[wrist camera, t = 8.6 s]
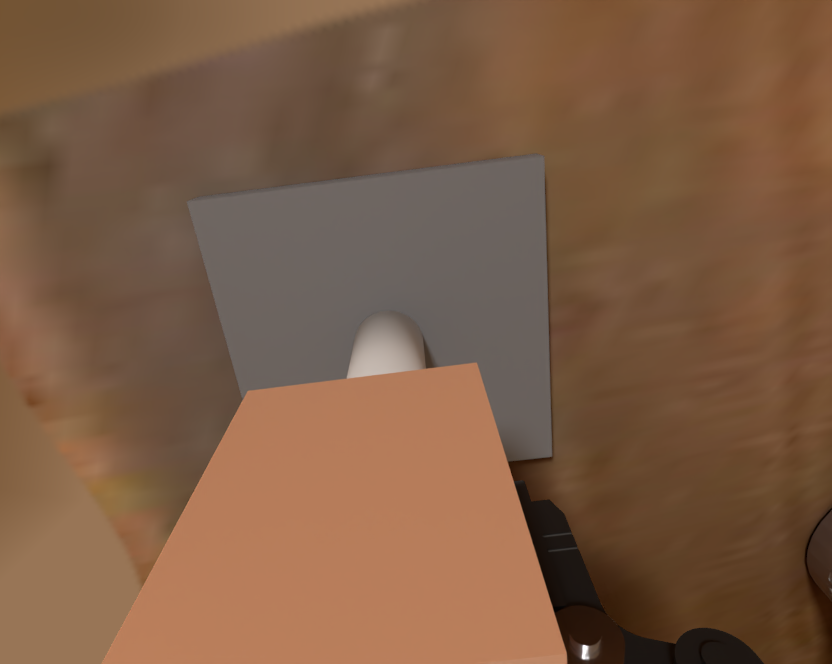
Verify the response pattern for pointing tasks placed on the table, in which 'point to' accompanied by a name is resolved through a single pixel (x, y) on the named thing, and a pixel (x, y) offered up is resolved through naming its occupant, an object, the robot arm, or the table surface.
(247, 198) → the base
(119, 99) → the table surface
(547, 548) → the robot arm
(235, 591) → the orange hollow box
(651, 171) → the table surface
